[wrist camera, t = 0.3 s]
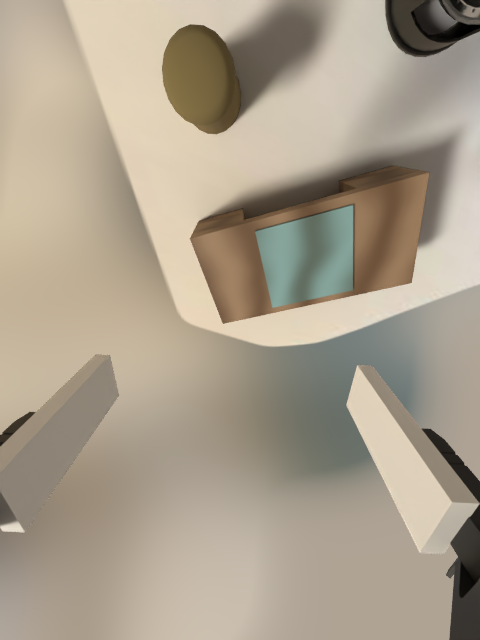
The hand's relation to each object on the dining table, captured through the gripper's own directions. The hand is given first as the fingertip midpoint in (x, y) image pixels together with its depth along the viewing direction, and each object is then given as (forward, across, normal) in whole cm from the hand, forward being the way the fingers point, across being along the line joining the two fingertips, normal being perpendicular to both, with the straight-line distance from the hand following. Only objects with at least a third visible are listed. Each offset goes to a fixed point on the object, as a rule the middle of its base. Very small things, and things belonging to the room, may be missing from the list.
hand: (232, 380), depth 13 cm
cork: (+22, -4, +19) cm, 29 cm away
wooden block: (+25, +7, +4) cm, 26 cm away
